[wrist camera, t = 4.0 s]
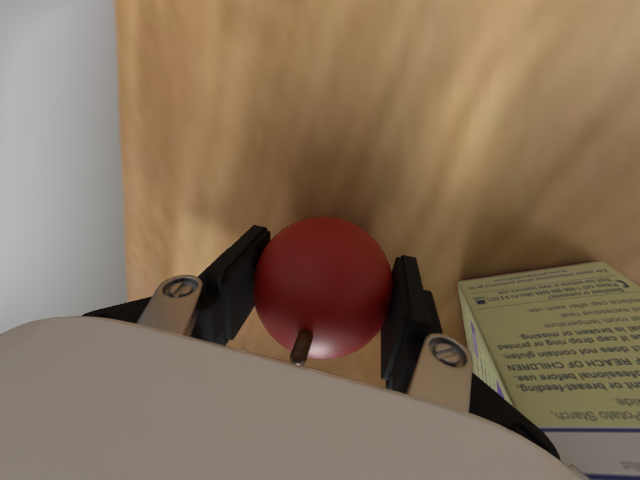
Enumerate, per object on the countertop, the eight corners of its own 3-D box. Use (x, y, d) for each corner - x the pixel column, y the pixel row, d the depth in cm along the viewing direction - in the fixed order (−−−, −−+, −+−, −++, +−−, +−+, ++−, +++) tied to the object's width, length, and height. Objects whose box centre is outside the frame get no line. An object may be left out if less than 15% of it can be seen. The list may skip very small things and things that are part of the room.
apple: (405, 211, 12) (426, 314, 6) (377, 307, 14) (372, 443, 9) (284, 188, 12) (197, 260, 7) (278, 284, 15) (212, 395, 9)
